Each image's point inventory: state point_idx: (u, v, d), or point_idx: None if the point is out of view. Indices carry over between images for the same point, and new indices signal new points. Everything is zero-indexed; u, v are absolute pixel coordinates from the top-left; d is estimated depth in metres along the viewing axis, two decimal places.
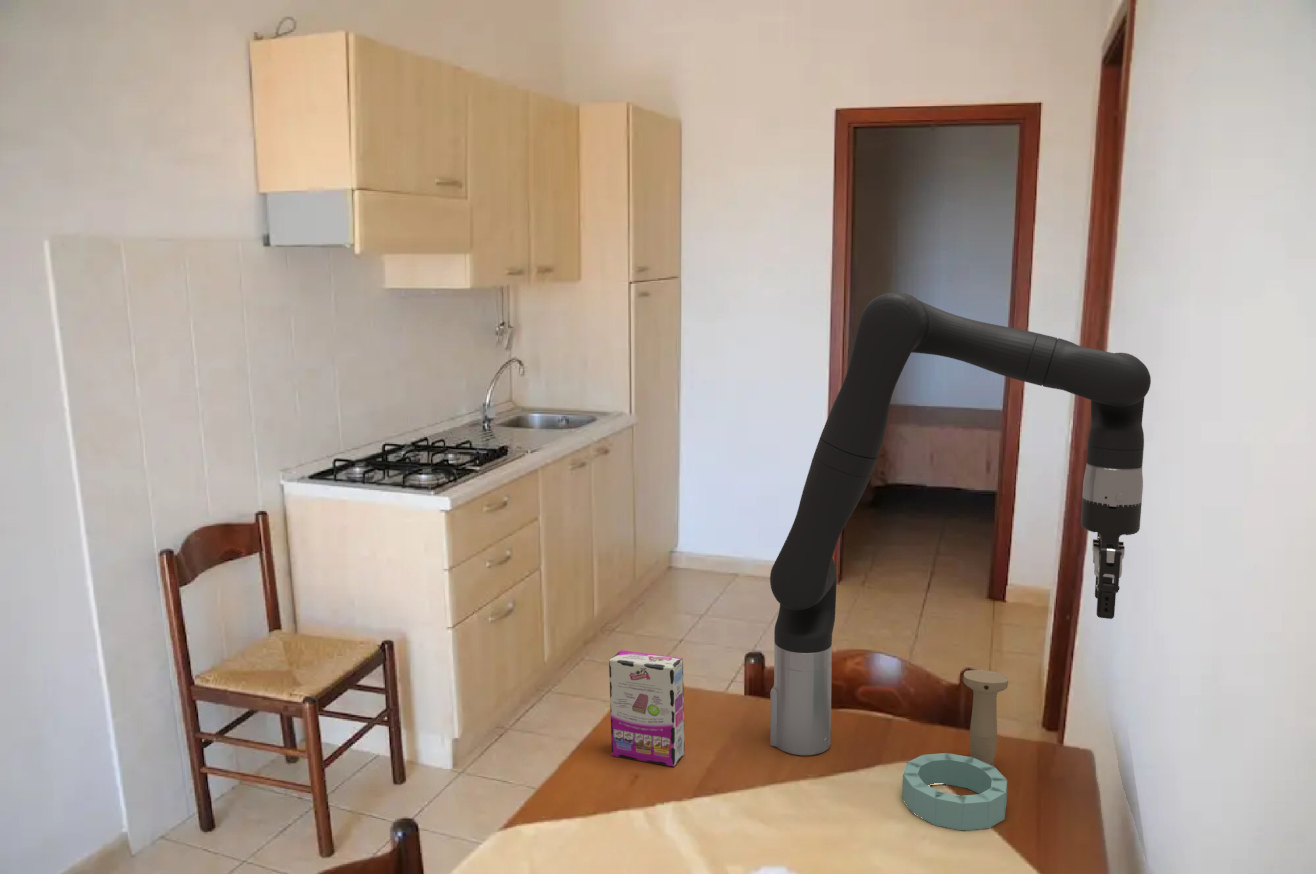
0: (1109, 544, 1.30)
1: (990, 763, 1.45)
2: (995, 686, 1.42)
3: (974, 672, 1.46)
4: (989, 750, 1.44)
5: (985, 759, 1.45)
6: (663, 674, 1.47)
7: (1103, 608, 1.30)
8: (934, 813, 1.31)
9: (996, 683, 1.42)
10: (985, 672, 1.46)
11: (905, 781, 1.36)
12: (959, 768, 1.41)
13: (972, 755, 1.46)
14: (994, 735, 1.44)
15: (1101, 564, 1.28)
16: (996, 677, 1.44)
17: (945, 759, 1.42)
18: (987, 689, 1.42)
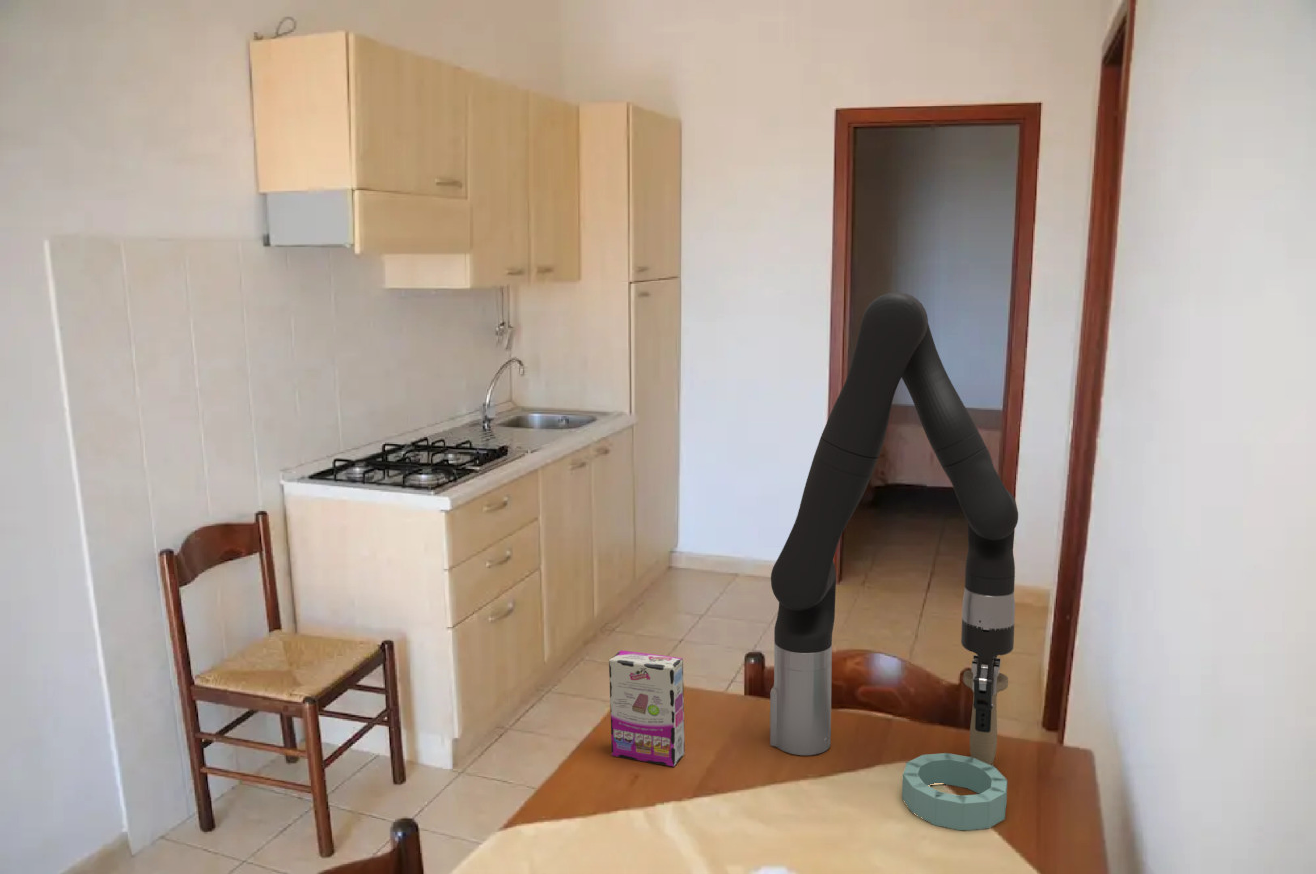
0: (984, 666, 1.40)
1: (990, 763, 1.45)
2: None
3: None
4: (989, 750, 1.44)
5: (985, 759, 1.45)
6: (663, 674, 1.47)
7: (980, 723, 1.43)
8: (934, 813, 1.31)
9: None
10: None
11: (905, 781, 1.36)
12: (959, 768, 1.41)
13: (972, 755, 1.46)
14: (994, 735, 1.44)
15: (975, 691, 1.39)
16: None
17: (945, 759, 1.42)
18: None
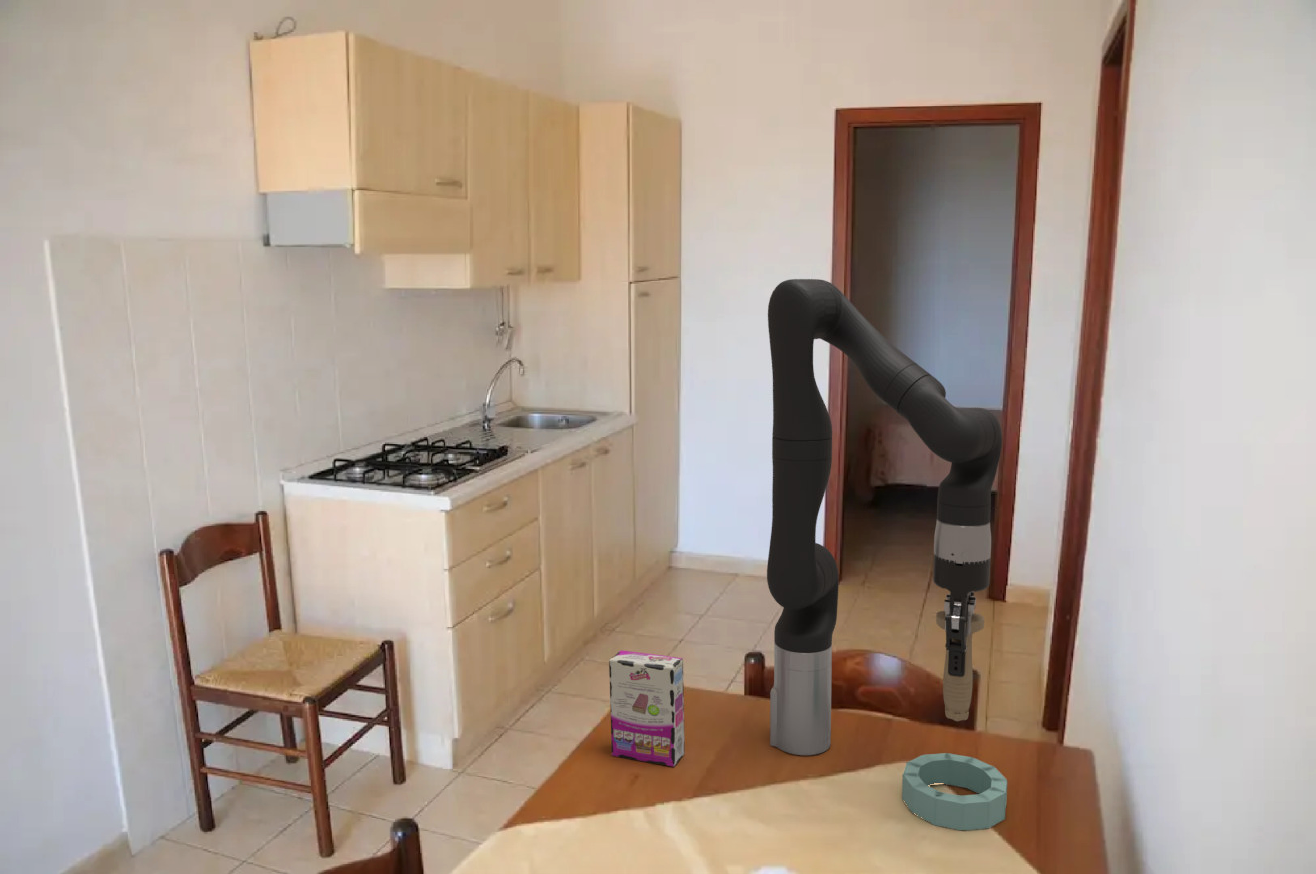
0: (957, 604, 1.29)
1: (965, 711, 1.34)
2: None
3: None
4: (964, 697, 1.33)
5: (959, 706, 1.33)
6: (663, 674, 1.47)
7: (953, 667, 1.31)
8: (934, 813, 1.31)
9: (971, 622, 1.30)
10: None
11: (905, 781, 1.36)
12: (959, 768, 1.41)
13: (945, 702, 1.34)
14: (969, 680, 1.33)
15: (947, 631, 1.28)
16: None
17: (945, 759, 1.42)
18: None
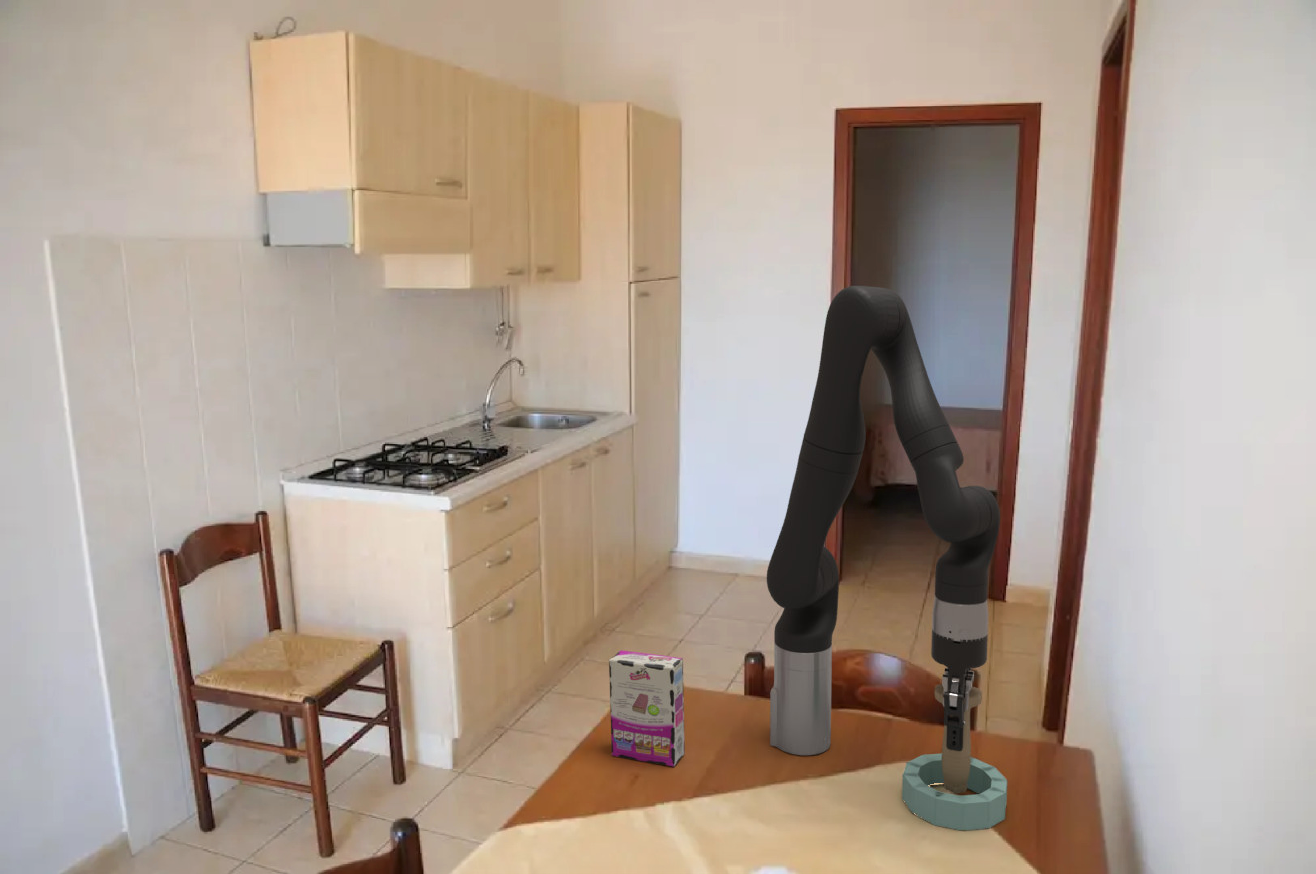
0: (955, 680, 1.30)
1: (963, 784, 1.35)
2: None
3: None
4: (962, 770, 1.34)
5: (958, 780, 1.35)
6: (663, 674, 1.47)
7: (951, 741, 1.33)
8: (934, 813, 1.31)
9: (969, 698, 1.32)
10: None
11: (905, 781, 1.36)
12: None
13: (944, 775, 1.36)
14: (967, 754, 1.34)
15: (945, 708, 1.29)
16: None
17: None
18: None
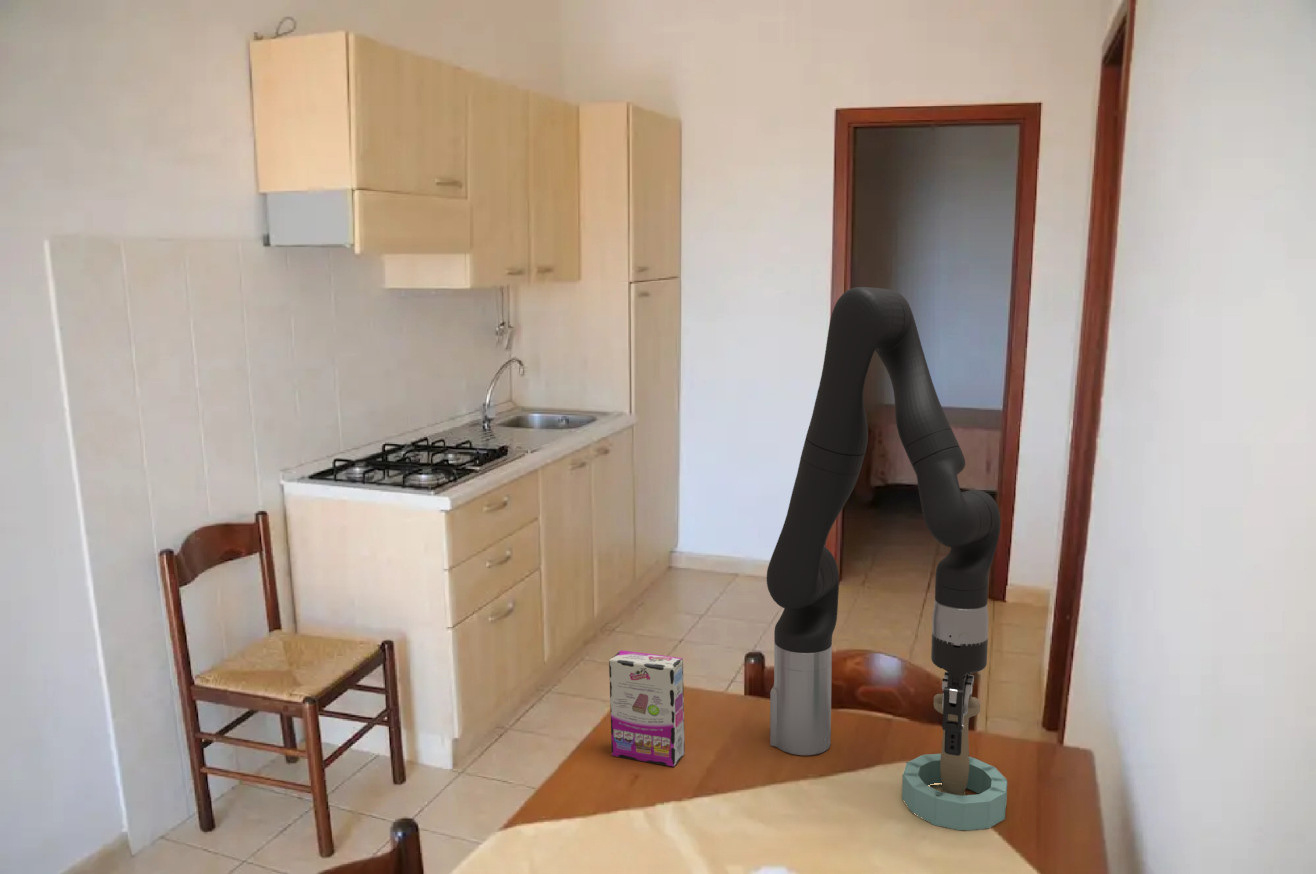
0: (955, 682, 1.31)
1: (962, 792, 1.37)
2: None
3: None
4: (961, 779, 1.36)
5: (956, 788, 1.36)
6: (663, 674, 1.47)
7: (949, 745, 1.31)
8: (934, 813, 1.31)
9: (968, 708, 1.34)
10: None
11: (905, 781, 1.36)
12: None
13: (943, 784, 1.38)
14: (966, 763, 1.36)
15: (944, 704, 1.28)
16: None
17: None
18: None
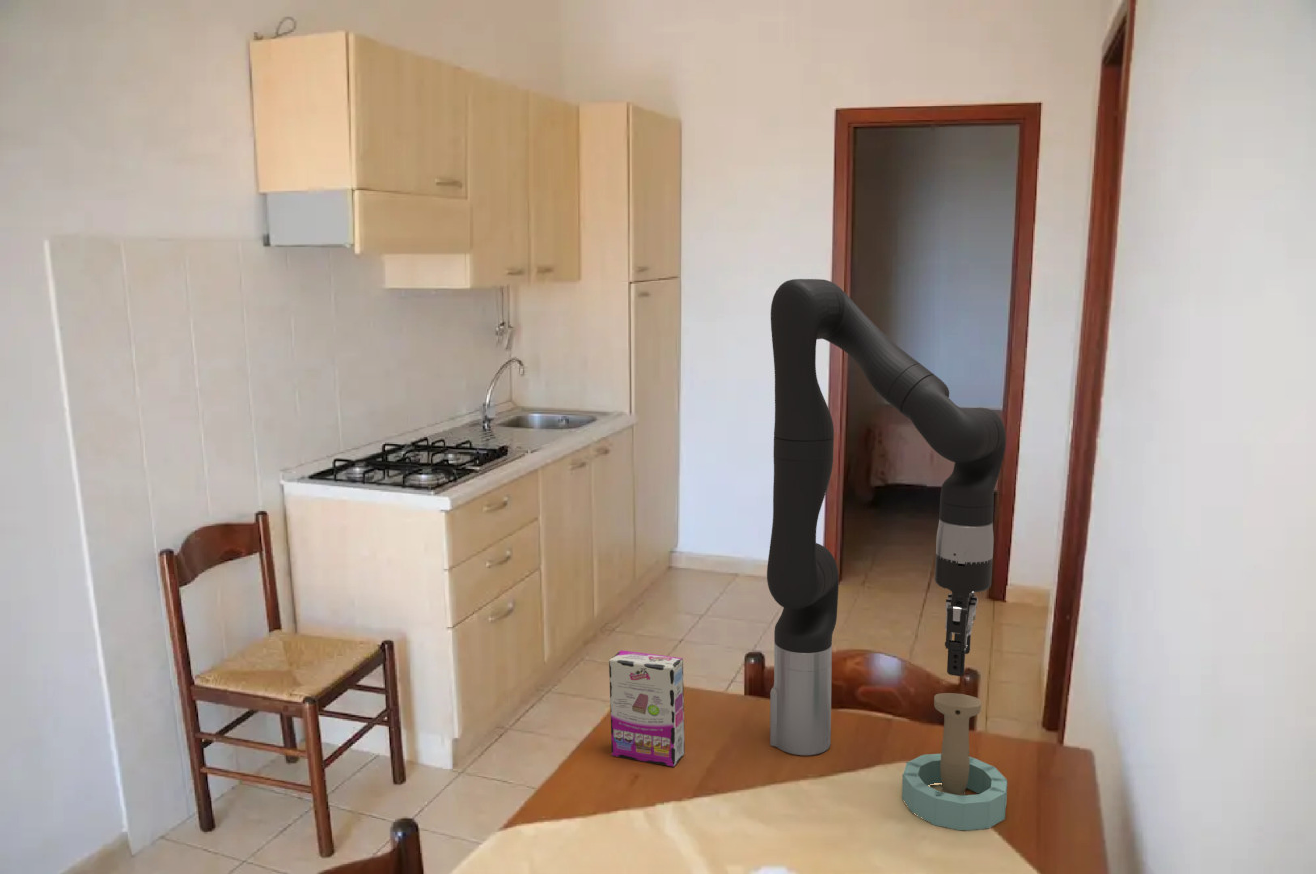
0: (958, 601, 1.29)
1: (962, 792, 1.37)
2: (966, 711, 1.34)
3: (945, 695, 1.38)
4: (961, 779, 1.36)
5: (956, 788, 1.36)
6: (663, 674, 1.47)
7: (952, 666, 1.29)
8: (934, 813, 1.31)
9: (968, 708, 1.34)
10: (956, 695, 1.38)
11: (905, 781, 1.36)
12: None
13: (943, 784, 1.38)
14: (966, 763, 1.36)
15: (948, 622, 1.26)
16: (968, 701, 1.36)
17: None
18: (958, 714, 1.34)
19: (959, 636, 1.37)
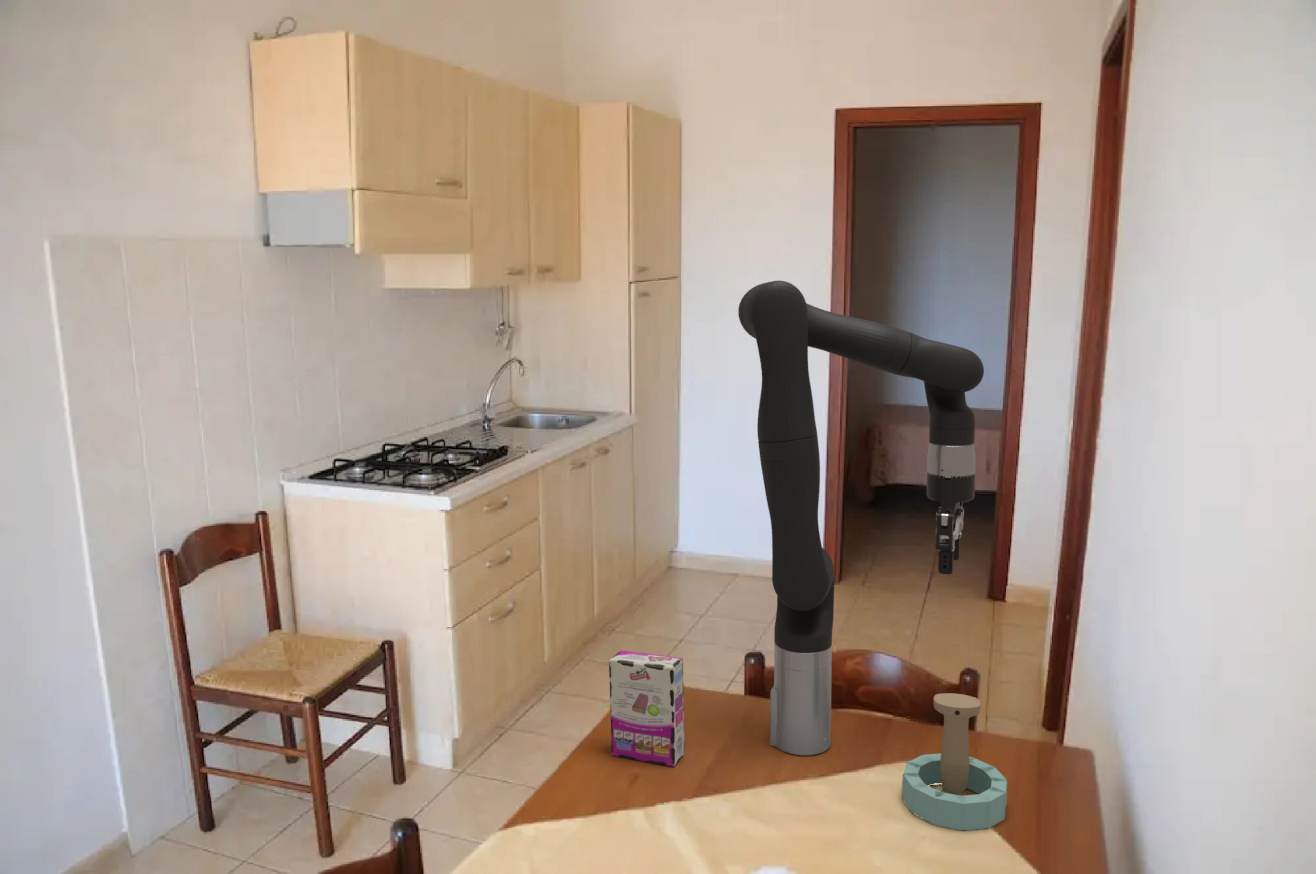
0: (946, 510, 1.52)
1: (962, 792, 1.37)
2: (966, 712, 1.34)
3: (945, 696, 1.38)
4: (961, 779, 1.36)
5: (956, 788, 1.36)
6: (663, 674, 1.47)
7: (942, 565, 1.52)
8: (934, 813, 1.31)
9: (968, 708, 1.34)
10: (956, 695, 1.38)
11: (905, 781, 1.36)
12: None
13: (943, 784, 1.38)
14: (966, 763, 1.36)
15: (937, 527, 1.50)
16: (968, 701, 1.36)
17: None
18: (958, 715, 1.34)
19: None
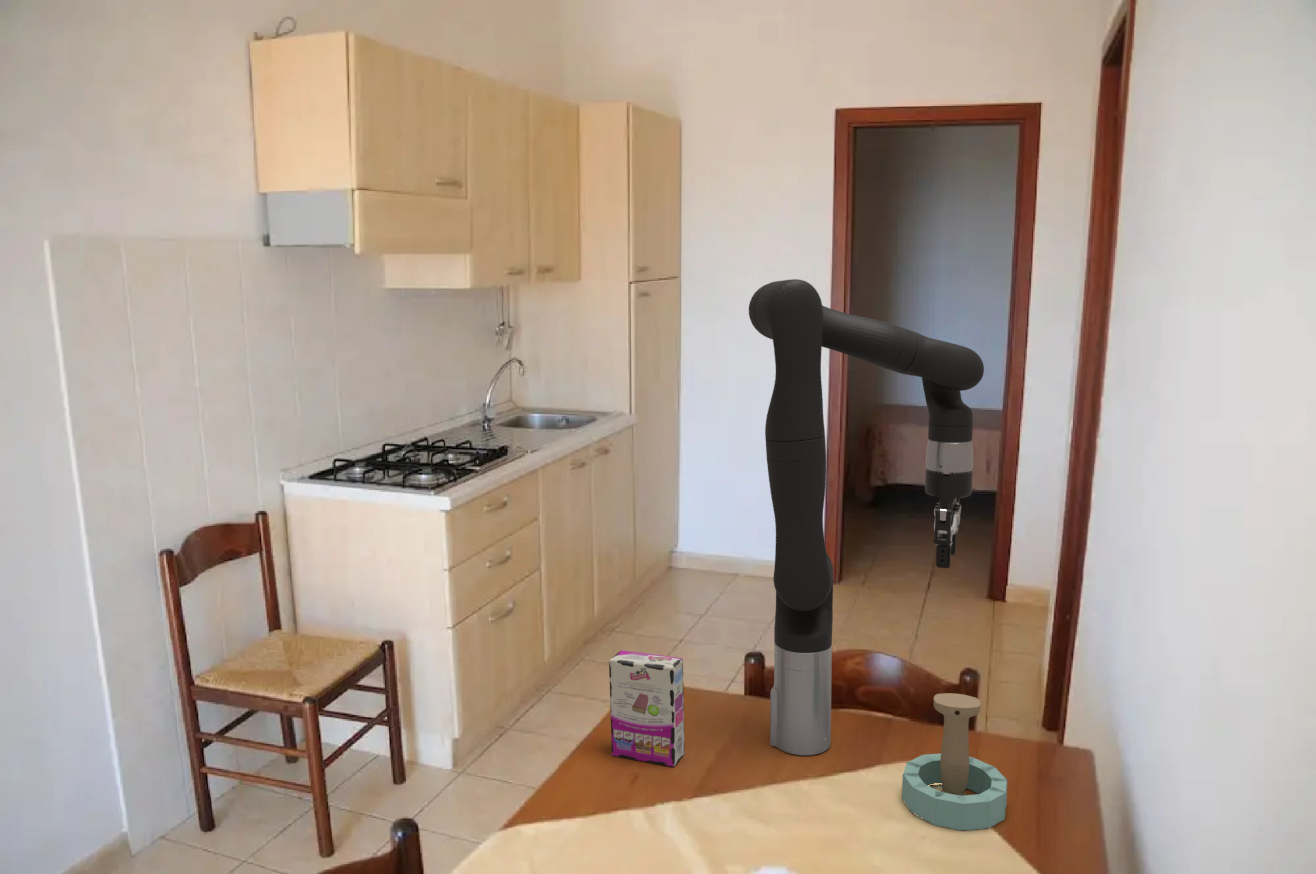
0: (945, 506, 1.55)
1: (962, 792, 1.37)
2: (966, 712, 1.34)
3: (945, 696, 1.38)
4: (961, 779, 1.36)
5: (956, 788, 1.36)
6: (663, 674, 1.47)
7: (940, 559, 1.55)
8: (934, 813, 1.31)
9: (968, 708, 1.34)
10: (956, 695, 1.38)
11: (905, 781, 1.36)
12: None
13: (943, 784, 1.38)
14: (966, 763, 1.36)
15: (936, 522, 1.53)
16: (968, 701, 1.36)
17: None
18: (958, 715, 1.34)
19: None
